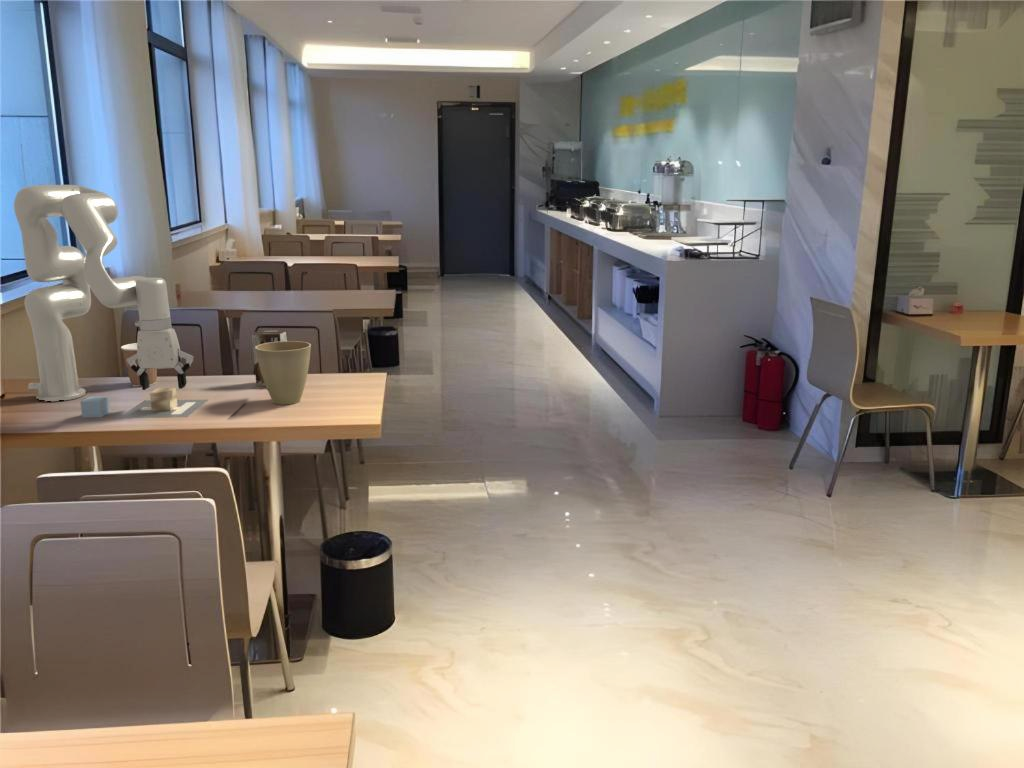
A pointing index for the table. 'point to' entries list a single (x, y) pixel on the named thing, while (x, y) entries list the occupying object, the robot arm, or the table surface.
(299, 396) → the plant pot
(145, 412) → the letter board
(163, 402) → the wood block
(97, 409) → the blue cube
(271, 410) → the table surface
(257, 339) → the coffee box
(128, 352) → the coffee cup
